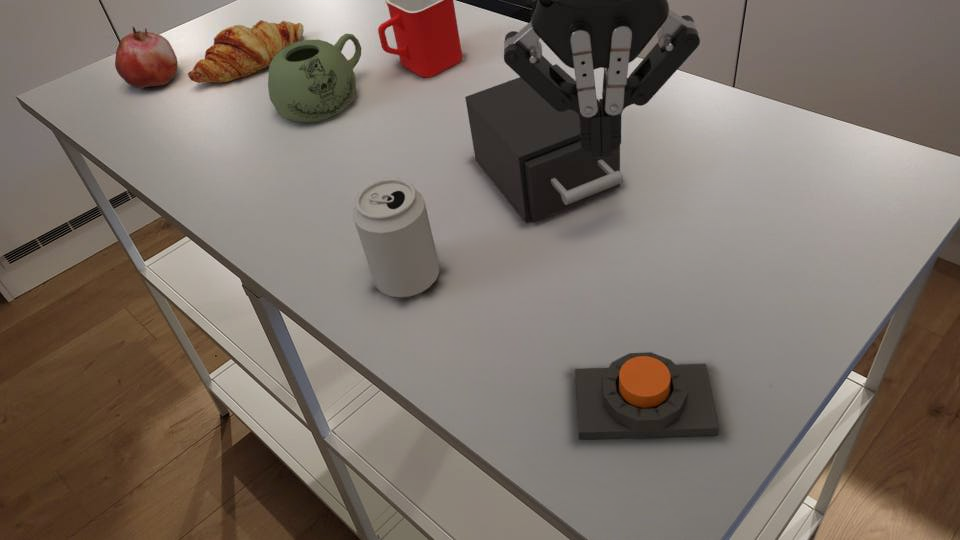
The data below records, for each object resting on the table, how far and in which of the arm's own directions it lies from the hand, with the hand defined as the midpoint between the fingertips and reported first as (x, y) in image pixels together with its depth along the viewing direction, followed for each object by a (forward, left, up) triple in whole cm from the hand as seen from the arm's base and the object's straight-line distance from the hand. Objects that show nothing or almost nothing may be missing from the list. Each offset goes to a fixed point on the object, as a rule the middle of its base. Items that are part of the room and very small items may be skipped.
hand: (600, 150), depth 55 cm
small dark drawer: (+4, -27, -24) cm, 37 cm away
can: (+21, -13, -26) cm, 36 cm away
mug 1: (+38, -52, -26) cm, 69 cm away
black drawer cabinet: (+5, -30, -25) cm, 40 cm away
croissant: (+53, -65, -26) cm, 88 cm away
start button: (-3, +5, -23) cm, 23 cm away
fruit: (+69, -62, -26) cm, 96 cm away
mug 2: (+24, -59, -26) cm, 69 cm away
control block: (-3, +5, -25) cm, 26 cm away
